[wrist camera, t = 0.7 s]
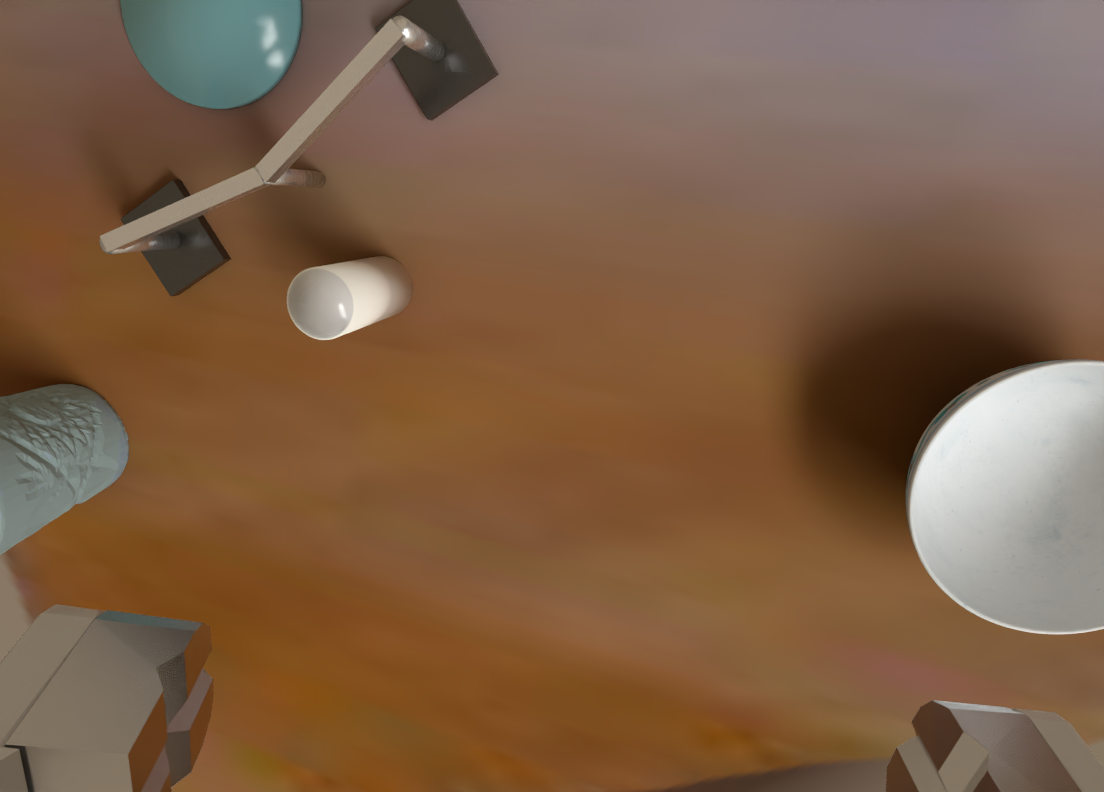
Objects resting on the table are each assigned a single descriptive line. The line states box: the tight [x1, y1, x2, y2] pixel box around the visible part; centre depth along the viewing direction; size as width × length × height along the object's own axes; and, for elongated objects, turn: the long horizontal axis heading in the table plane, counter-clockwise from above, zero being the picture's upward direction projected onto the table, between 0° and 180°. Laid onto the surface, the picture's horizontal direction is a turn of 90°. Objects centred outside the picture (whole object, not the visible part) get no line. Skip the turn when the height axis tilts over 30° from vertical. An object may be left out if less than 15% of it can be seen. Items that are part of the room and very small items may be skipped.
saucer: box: [120, 0, 303, 109], centre depth 46 cm, size 12×12×1 cm
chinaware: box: [906, 360, 1104, 634], centre depth 42 cm, size 15×15×8 cm
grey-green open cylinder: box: [0, 384, 129, 555], centre depth 51 cm, size 10×10×12 cm
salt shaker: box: [287, 256, 412, 340], centre depth 45 cm, size 4×4×9 cm
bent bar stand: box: [100, 0, 499, 296], centre depth 45 cm, size 27×6×7 cm, turn 121°
